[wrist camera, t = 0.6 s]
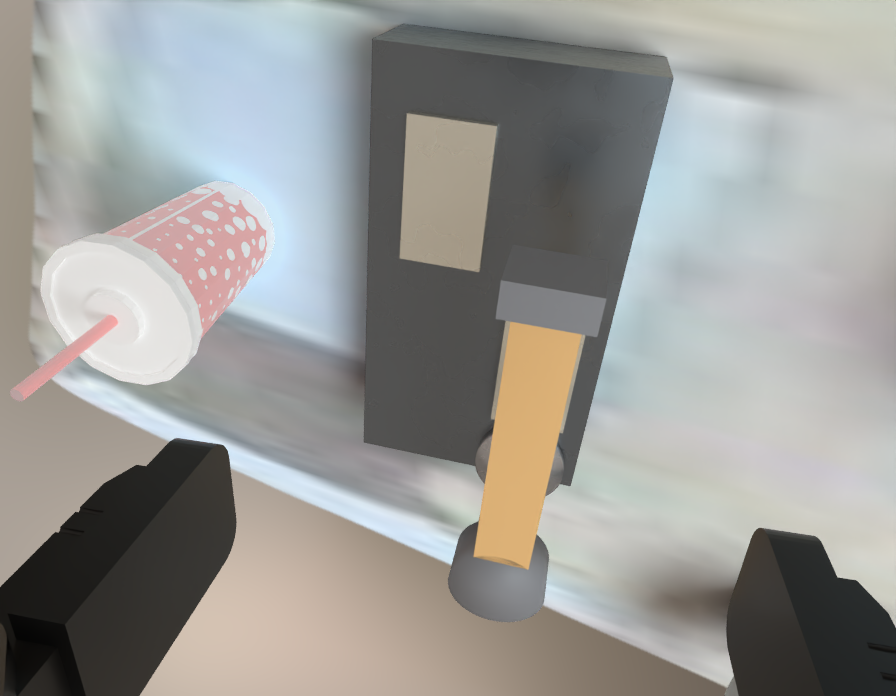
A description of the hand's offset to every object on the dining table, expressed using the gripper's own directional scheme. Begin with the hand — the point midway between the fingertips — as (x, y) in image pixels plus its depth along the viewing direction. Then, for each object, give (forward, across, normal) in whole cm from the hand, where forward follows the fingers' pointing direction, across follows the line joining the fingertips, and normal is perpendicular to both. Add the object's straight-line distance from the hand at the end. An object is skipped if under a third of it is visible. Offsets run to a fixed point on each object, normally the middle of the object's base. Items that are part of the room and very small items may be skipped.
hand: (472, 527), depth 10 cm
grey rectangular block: (+21, +2, +3) cm, 21 cm away
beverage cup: (+22, +15, +3) cm, 26 cm away
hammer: (+12, -1, +7) cm, 14 cm away
